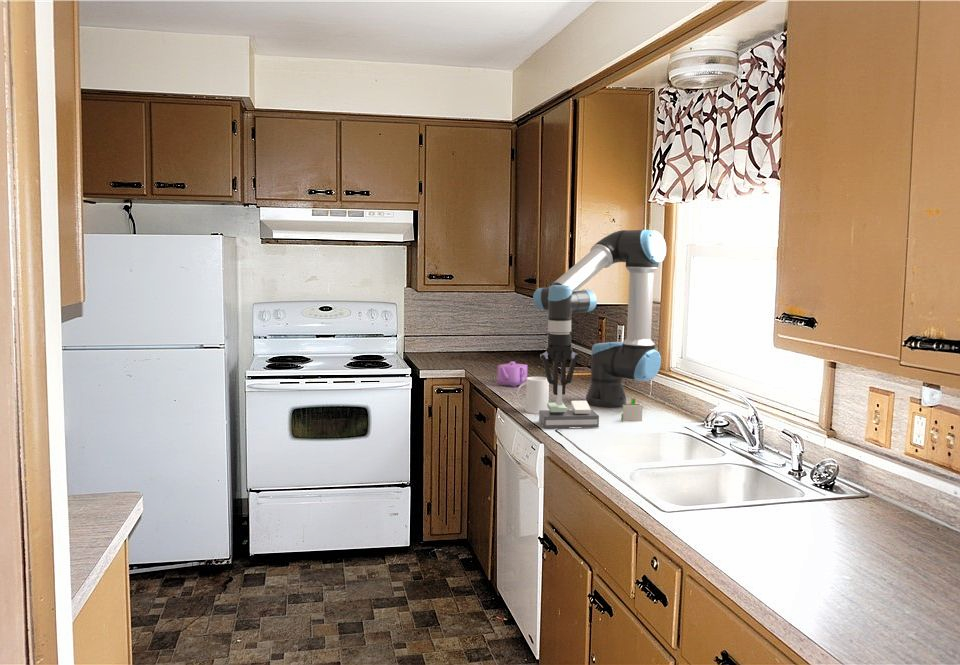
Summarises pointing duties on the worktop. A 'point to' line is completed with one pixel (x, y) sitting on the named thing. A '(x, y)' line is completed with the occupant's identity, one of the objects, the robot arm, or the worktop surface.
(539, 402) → the mug
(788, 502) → the worktop surface
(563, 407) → the rocker green
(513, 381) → the teapot
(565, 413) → the switch panel
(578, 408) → the rocker cream
